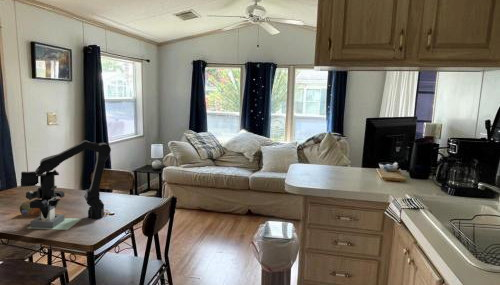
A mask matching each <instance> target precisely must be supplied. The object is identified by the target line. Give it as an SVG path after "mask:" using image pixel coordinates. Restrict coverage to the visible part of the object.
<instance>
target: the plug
mask: <svg viewBox="0 0 500 285" xmlns="http://www.w3.org/2000/svg"><path fill="white" fill-rule="evenodd" d="M55 214H56V208H55V206H51V207H50V210H49V213H48V216H47V218H44V217H43V214H42V212H41V215H40V216H41V220H52V219H54V218H55Z"/></svg>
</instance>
